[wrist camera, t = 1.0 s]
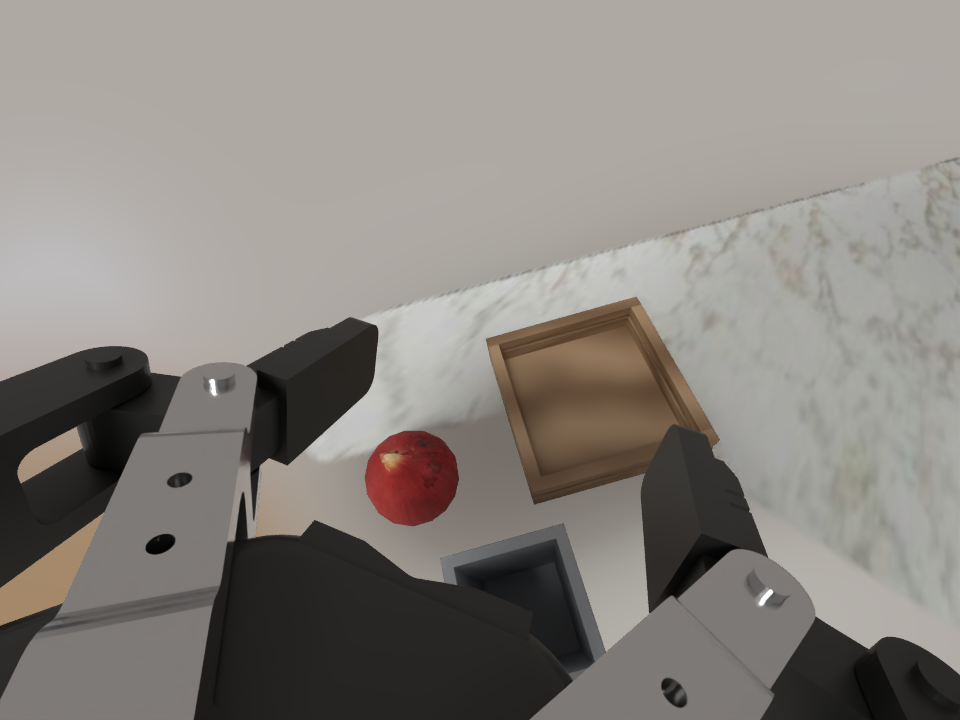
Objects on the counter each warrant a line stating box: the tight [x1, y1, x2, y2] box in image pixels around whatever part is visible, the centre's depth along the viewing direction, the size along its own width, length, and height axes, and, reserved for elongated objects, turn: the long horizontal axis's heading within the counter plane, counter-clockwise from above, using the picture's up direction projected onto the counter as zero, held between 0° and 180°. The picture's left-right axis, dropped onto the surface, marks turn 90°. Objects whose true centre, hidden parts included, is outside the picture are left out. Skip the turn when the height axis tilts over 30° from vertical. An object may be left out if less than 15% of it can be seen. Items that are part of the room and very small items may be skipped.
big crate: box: [486, 297, 720, 504], centre depth 31 cm, size 12×12×3 cm
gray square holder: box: [441, 524, 606, 681], centre depth 21 cm, size 6×6×10 cm
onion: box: [365, 431, 459, 526], centre depth 27 cm, size 6×6×8 cm
